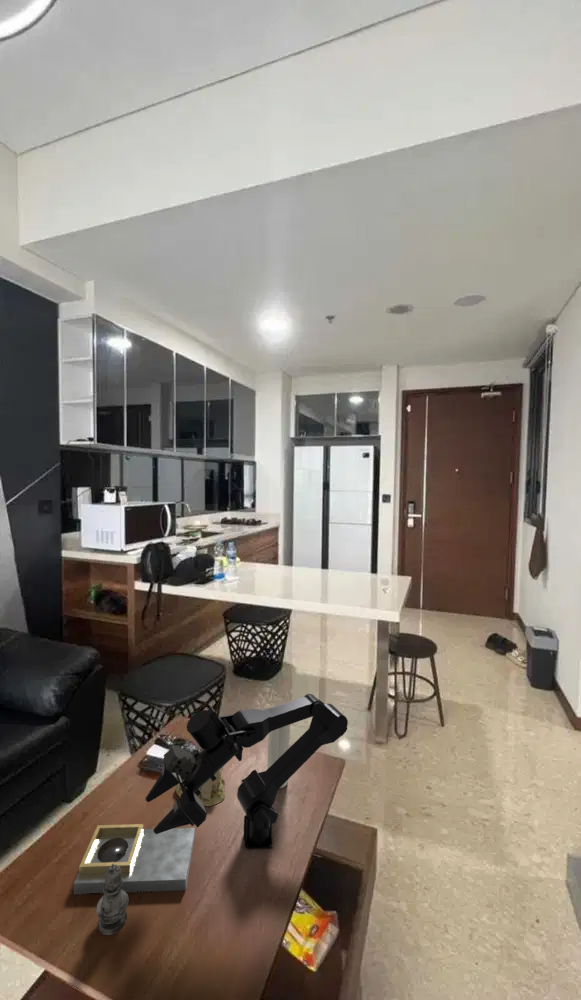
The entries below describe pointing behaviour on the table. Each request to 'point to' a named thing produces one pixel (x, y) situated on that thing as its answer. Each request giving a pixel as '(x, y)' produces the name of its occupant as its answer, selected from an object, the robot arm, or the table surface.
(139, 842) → the grey slab
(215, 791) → the ceramic model
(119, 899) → the grey tiered ornament
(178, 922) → the table surface
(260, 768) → the table surface
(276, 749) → the paper towel roll
